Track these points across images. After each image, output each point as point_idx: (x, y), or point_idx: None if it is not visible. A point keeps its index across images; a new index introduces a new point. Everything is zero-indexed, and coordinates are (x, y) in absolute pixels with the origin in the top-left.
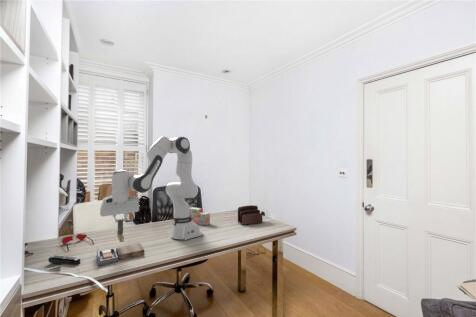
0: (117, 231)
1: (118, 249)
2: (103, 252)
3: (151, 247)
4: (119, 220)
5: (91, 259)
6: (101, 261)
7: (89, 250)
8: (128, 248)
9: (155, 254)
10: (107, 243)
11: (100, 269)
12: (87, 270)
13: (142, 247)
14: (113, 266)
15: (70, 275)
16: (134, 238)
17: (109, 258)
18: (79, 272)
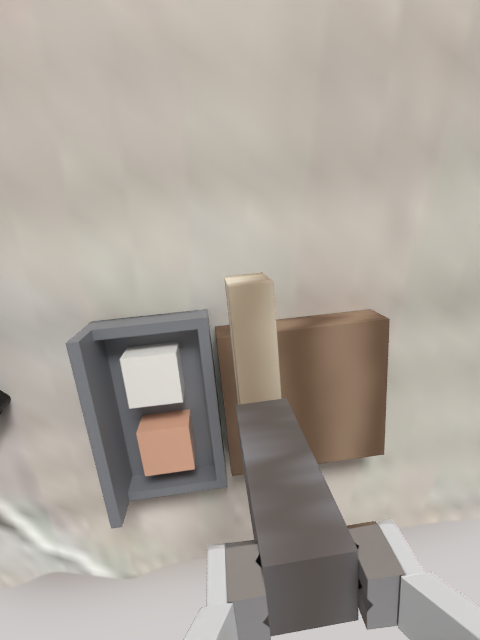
0: (235, 342)
1: (232, 382)
2: (132, 395)
3: (438, 333)
4: (288, 619)
5: (68, 368)
6: (137, 495)
7: (7, 161)
8: (297, 393)
9: (421, 452)
10: (138, 28)
11: (143, 519)
12: (79, 506)
13: (383, 414)
14: (203, 510)
15: (7, 529)
16: (384, 9)
17: (179, 488)
18: (44, 513)
